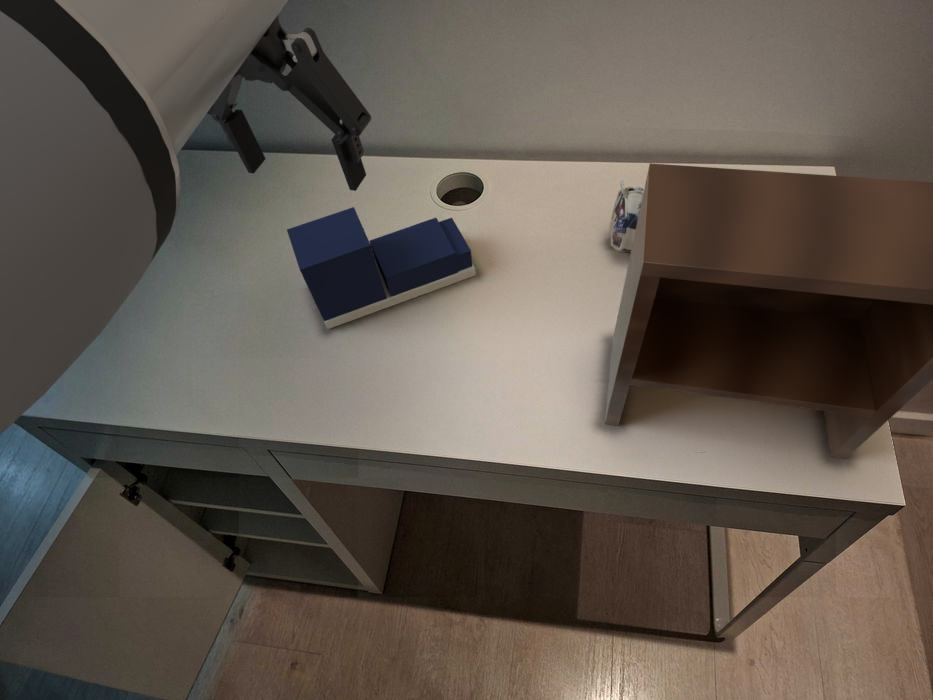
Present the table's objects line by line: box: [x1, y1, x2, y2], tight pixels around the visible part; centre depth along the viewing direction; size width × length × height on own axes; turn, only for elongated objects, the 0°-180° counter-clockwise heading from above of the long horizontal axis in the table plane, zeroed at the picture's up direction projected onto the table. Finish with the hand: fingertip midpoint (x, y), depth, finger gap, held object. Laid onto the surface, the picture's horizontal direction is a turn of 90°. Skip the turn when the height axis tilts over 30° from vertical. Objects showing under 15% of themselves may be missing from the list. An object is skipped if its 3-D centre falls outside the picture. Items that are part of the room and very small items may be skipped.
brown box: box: [604, 163, 933, 460], centre depth 59 cm, size 26×12×28 cm, turn 78°
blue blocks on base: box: [286, 206, 477, 330], centre depth 80 cm, size 22×8×12 cm, turn 112°
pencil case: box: [609, 179, 644, 253], centre depth 80 cm, size 22×8×10 cm, turn 84°
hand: (306, 174), depth 68 cm, fingers open, 13 cm apart
